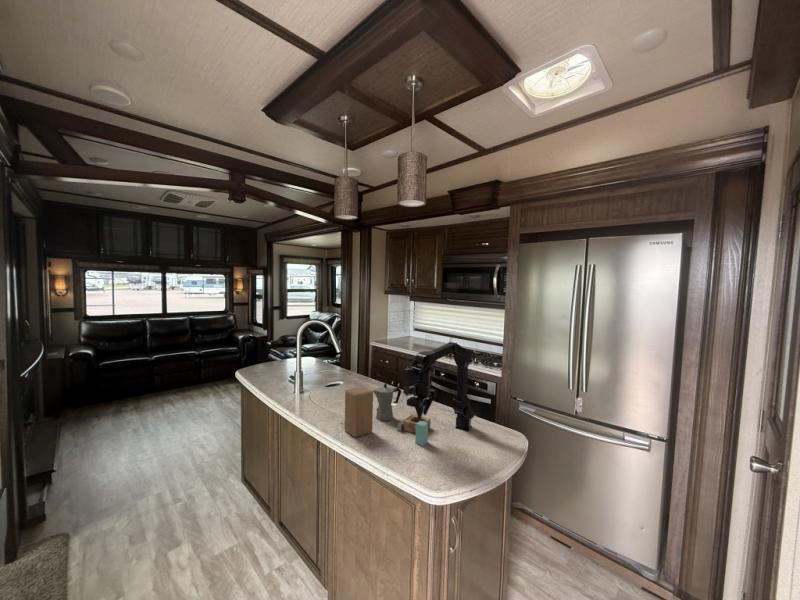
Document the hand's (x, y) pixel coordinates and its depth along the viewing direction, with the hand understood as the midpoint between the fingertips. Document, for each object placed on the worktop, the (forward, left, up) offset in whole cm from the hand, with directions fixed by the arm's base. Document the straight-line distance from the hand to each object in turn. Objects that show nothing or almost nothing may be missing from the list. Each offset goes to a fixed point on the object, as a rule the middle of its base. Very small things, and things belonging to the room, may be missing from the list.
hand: (422, 416), depth 140 cm
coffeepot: (+28, -14, -12) cm, 34 cm away
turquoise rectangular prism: (0, 0, -12) cm, 12 cm away
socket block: (+8, -11, -12) cm, 18 cm away
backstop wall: (+14, -11, -12) cm, 21 cm away
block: (+30, +7, -12) cm, 33 cm away
